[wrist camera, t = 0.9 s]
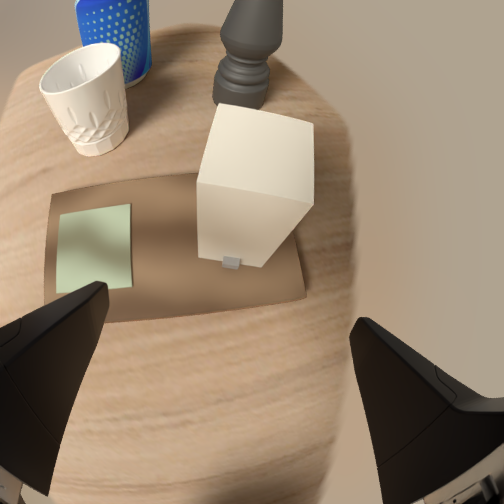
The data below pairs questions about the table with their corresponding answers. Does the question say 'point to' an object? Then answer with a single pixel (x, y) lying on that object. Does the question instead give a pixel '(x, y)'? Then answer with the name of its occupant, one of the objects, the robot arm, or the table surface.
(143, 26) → the beer can
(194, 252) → the board
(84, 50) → the white cup
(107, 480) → the table surface
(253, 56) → the candle holder
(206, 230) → the tall white prism
